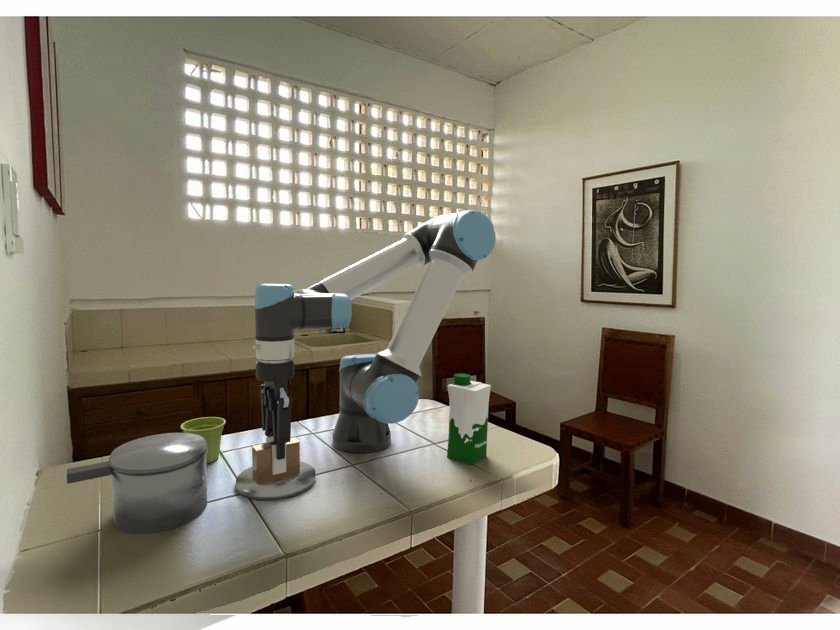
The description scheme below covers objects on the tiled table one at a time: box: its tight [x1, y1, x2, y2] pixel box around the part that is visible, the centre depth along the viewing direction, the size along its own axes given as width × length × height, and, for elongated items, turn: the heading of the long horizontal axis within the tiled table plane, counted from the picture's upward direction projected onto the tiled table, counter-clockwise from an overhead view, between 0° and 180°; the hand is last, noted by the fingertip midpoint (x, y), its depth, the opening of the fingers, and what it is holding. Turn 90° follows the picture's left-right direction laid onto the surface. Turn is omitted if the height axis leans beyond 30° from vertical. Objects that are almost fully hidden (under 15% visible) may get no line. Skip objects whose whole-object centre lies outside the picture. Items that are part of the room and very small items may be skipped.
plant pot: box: [180, 416, 227, 464], centre depth 107 cm, size 9×9×9 cm
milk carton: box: [446, 372, 492, 466], centre depth 111 cm, size 9×9×20 cm
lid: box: [235, 436, 317, 502], centre depth 97 cm, size 16×16×8 cm
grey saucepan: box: [66, 432, 208, 535], centre depth 82 cm, size 21×16×12 cm
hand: (276, 469), depth 97 cm, fingers closed on lid, 3 cm apart
